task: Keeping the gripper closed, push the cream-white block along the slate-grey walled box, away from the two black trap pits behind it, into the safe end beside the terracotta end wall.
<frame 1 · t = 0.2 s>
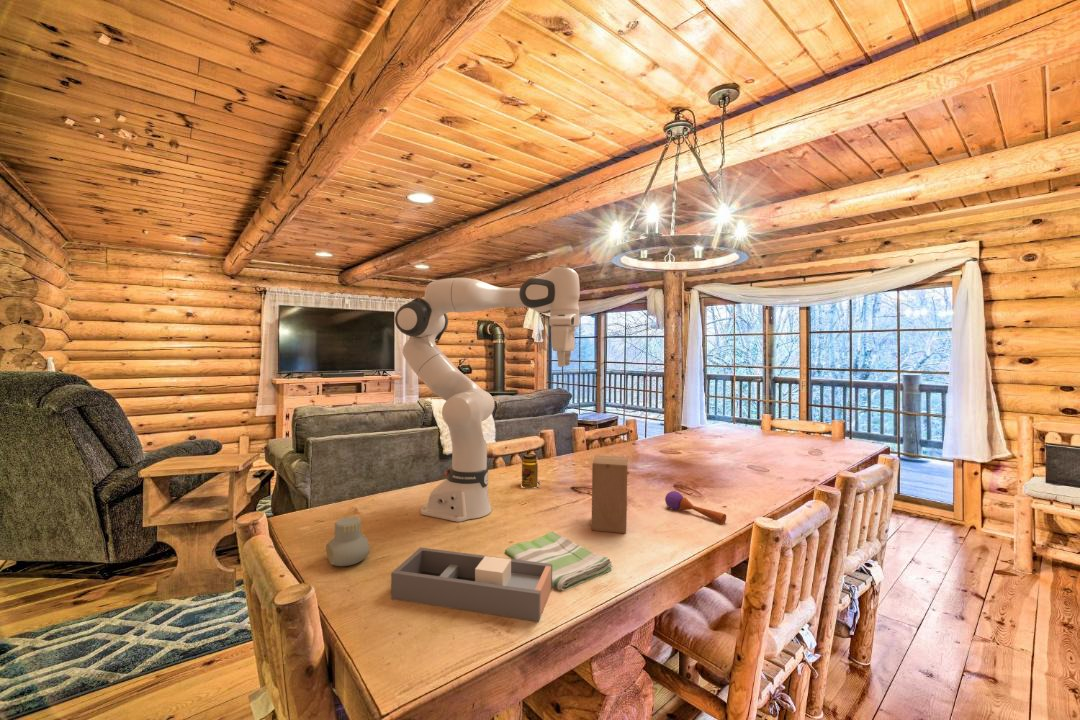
hand: (563, 366, 136), 48 cm above the table, fingers open, 8 cm apart
cream block: (493, 582, 95), point 3 cm above the table, touching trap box
condiment: (530, 485, 173), on the table
dish towel: (556, 564, 112), on the table
air freshener: (347, 561, 110), on the table
wooden block: (609, 526, 134), on the table
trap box: (473, 593, 96), on the table
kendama: (693, 515, 144), on the table
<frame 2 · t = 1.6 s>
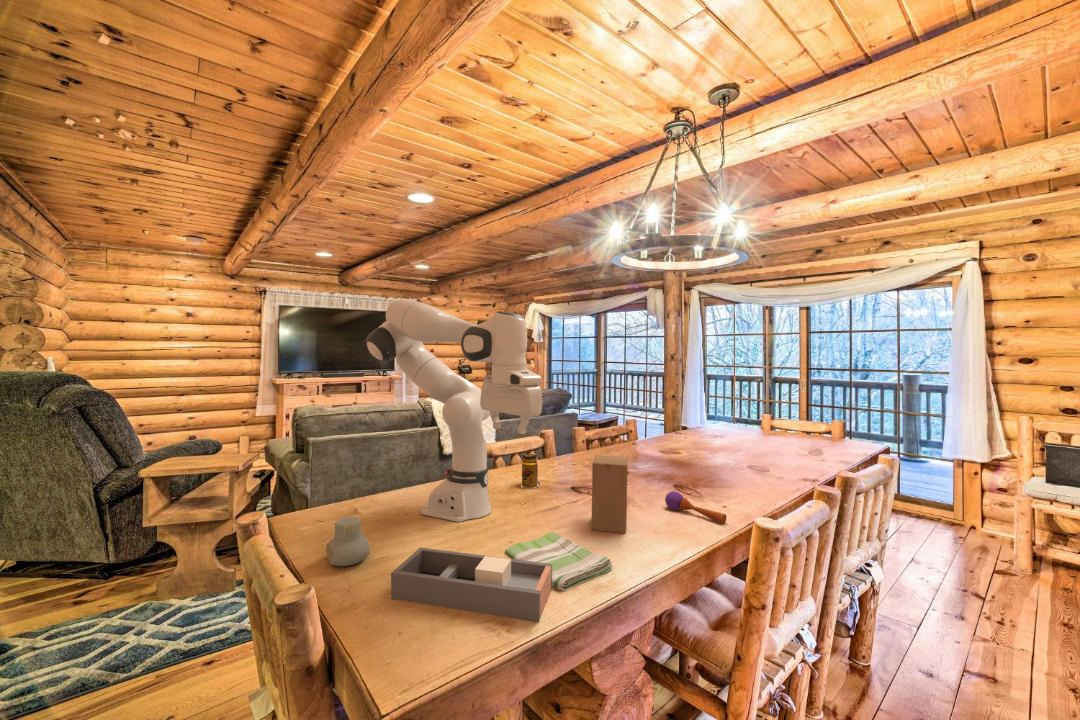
hand: (509, 431, 112), 32 cm above the table, fingers open, 8 cm apart
nothing on the table moved.
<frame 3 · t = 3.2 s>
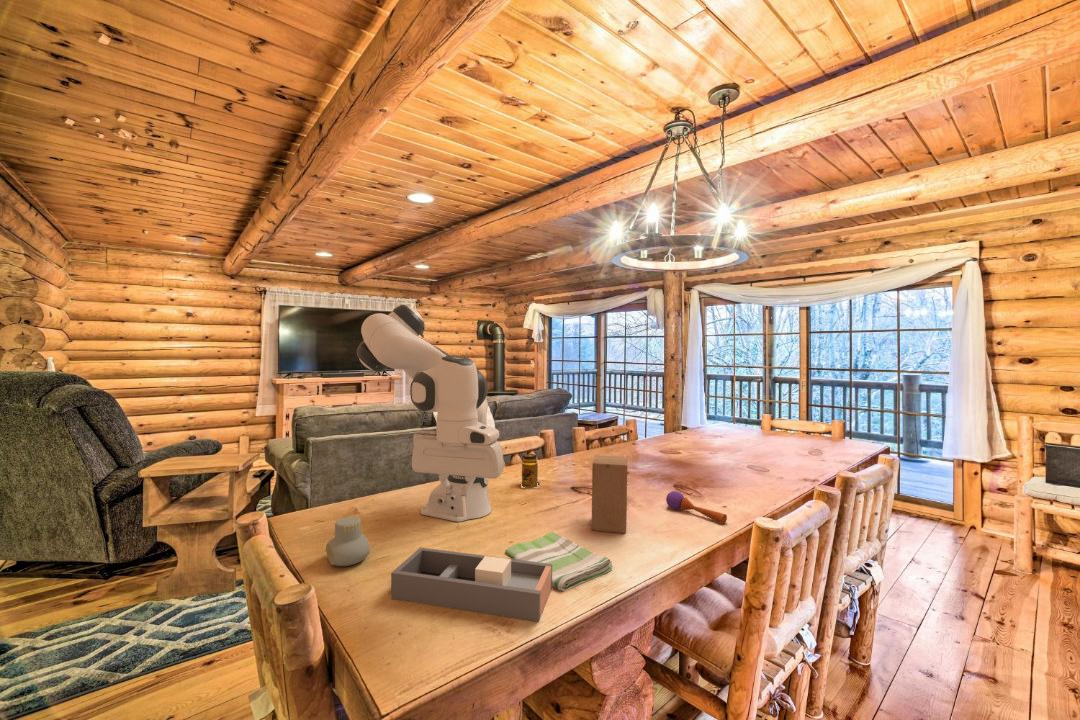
hand: (456, 494, 97), 21 cm above the table, fingers open, 3 cm apart
nothing on the table moved.
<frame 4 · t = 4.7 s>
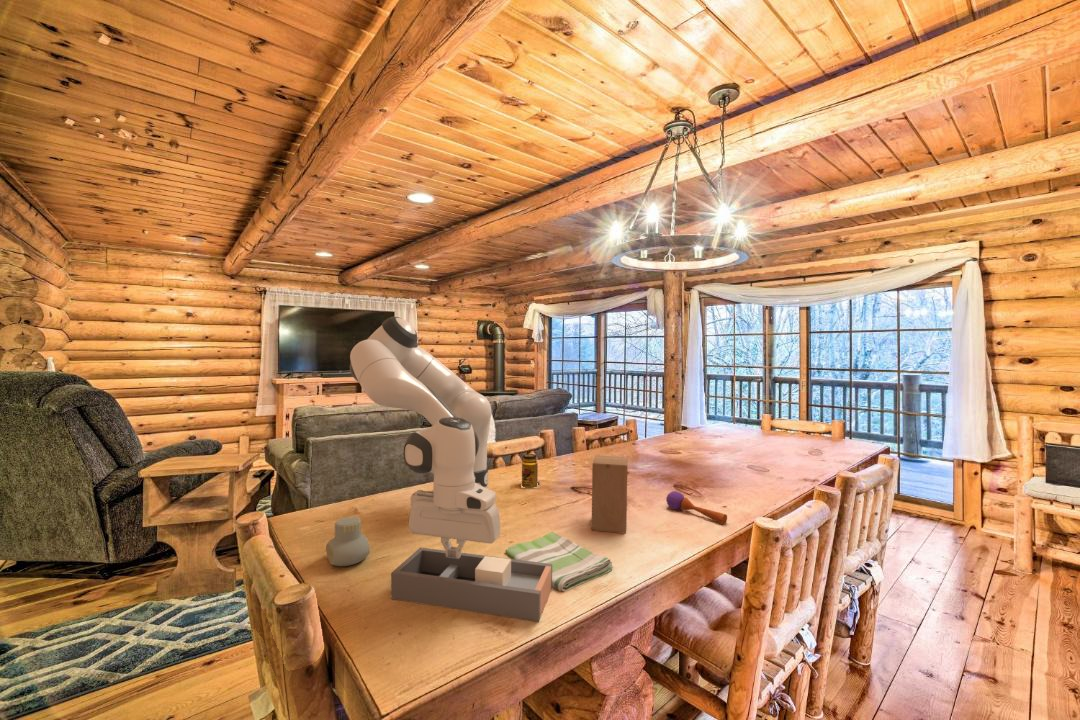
hand: (453, 557, 97), 8 cm above the table, fingers closed
nothing on the table moved.
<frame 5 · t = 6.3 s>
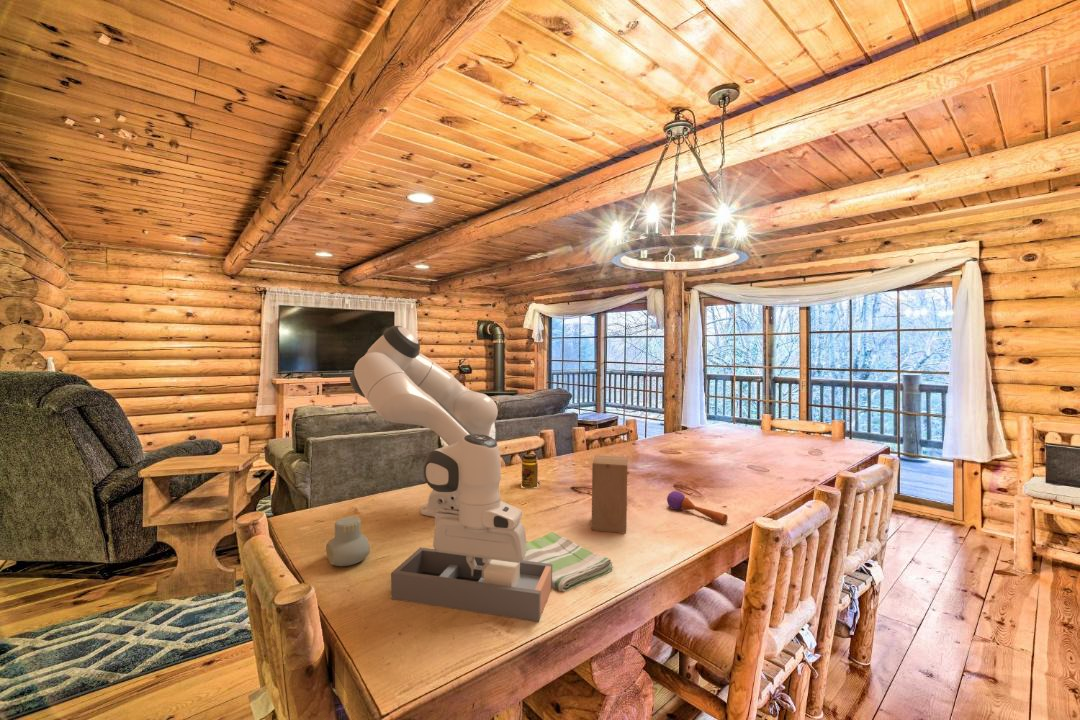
hand: (479, 575, 96), 4 cm above the table, fingers closed
cream block: (502, 584, 95), point 3 cm above the table, touching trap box
everything else where it was.
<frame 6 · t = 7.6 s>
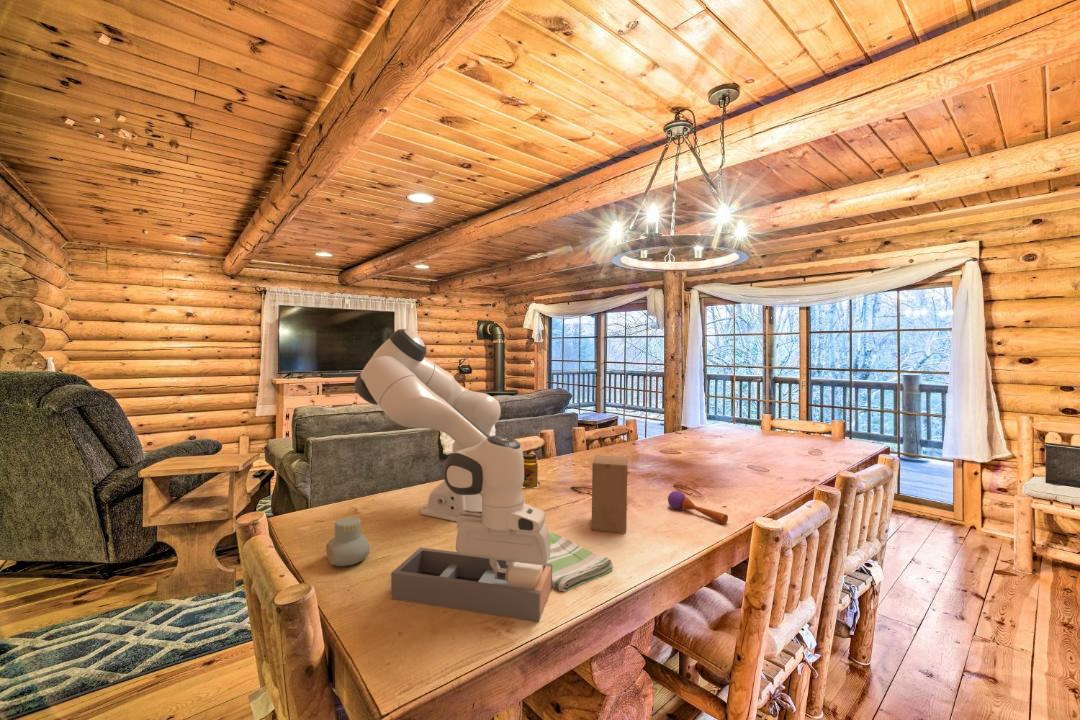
hand: (502, 578, 95), 4 cm above the table, fingers closed
cream block: (525, 586, 94), point 3 cm above the table, touching gripper, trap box
everything else where it was.
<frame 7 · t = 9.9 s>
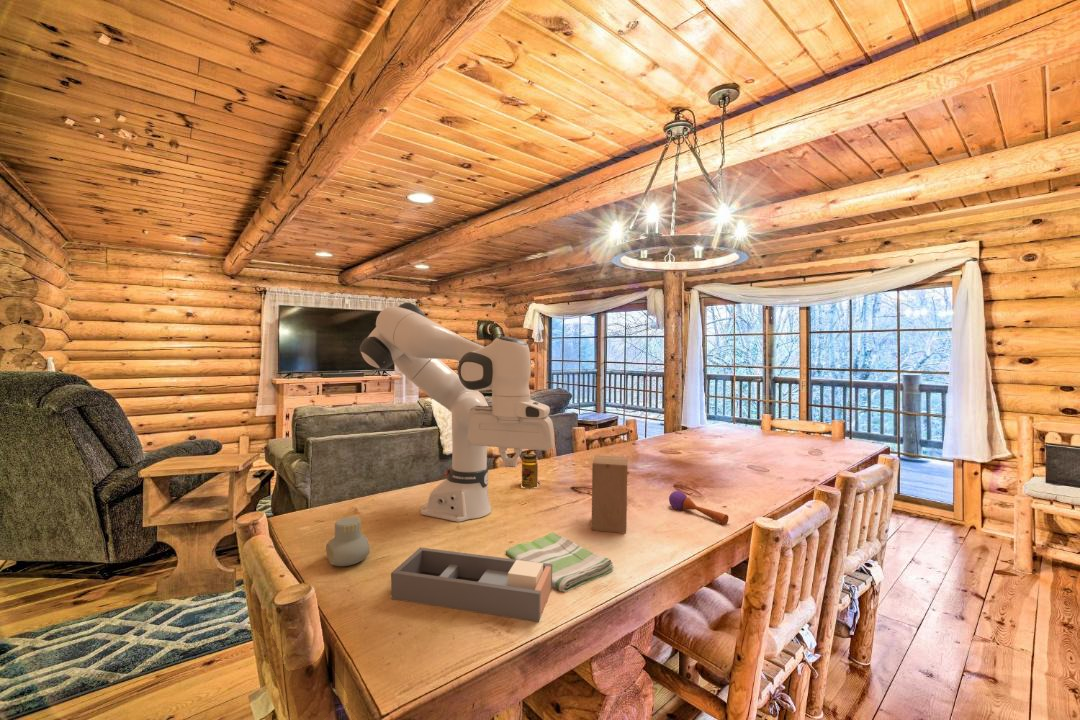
hand: (510, 466, 104), 26 cm above the table, fingers closed
cream block: (525, 586, 94), point 3 cm above the table, touching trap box
everything else where it was.
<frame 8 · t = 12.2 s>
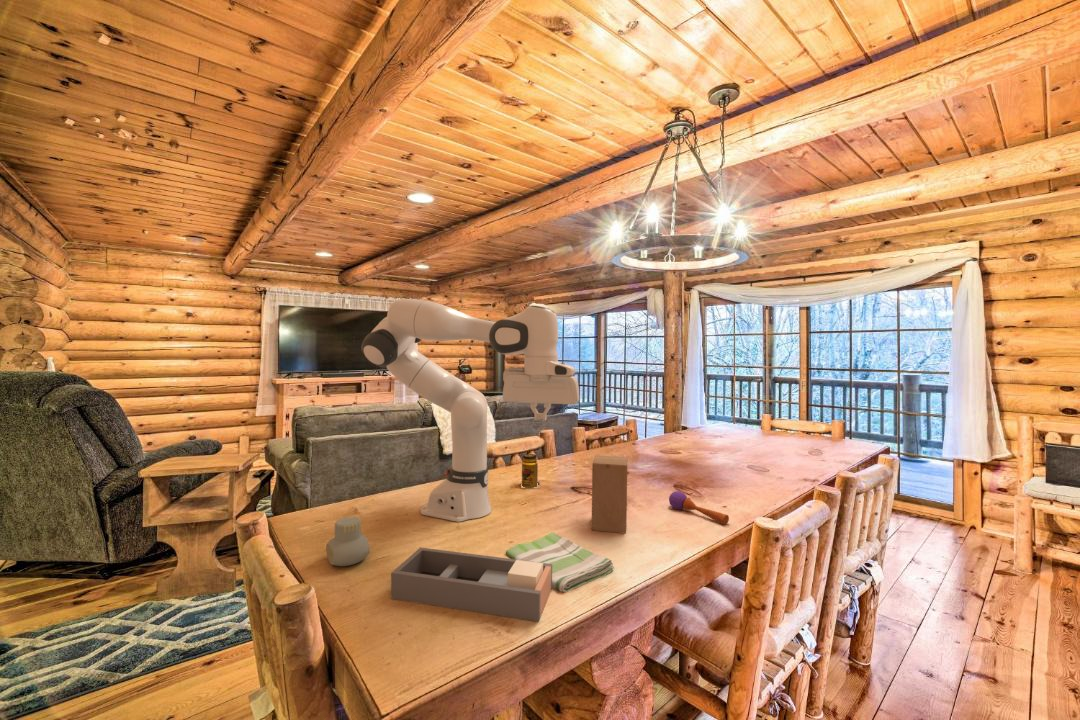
hand: (540, 420, 118), 34 cm above the table, fingers closed
nothing on the table moved.
at the end: cream block 0.4 cm from the target spot on the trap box, point 3.0 cm above the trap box's base; cream block tilted 0° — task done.
